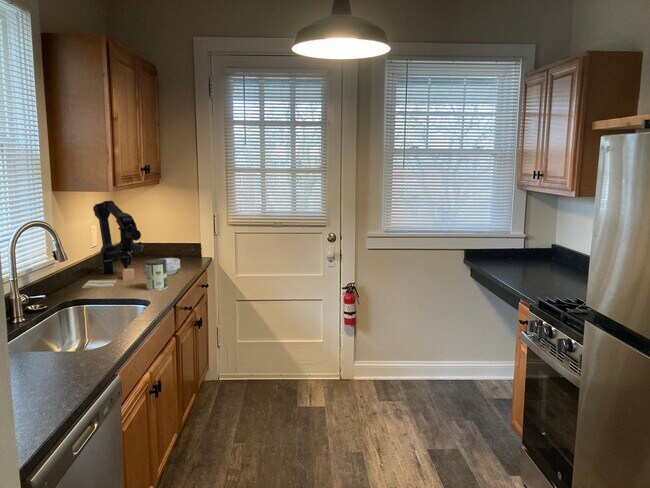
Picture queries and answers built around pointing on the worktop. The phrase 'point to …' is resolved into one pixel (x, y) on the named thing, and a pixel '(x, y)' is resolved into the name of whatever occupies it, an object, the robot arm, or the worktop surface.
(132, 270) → the terracotta cube
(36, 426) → the worktop surface
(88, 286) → the striped cloth
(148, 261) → the coffee can
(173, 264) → the paper bowls
